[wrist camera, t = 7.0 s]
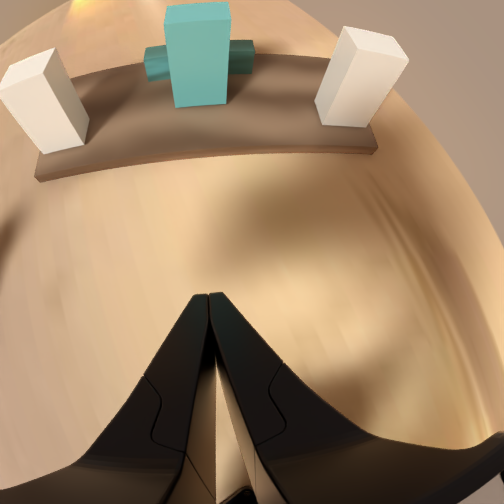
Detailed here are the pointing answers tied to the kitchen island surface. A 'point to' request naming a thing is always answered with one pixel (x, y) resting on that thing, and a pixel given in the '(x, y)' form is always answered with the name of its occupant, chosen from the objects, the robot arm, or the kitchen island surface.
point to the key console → (202, 115)
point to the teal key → (198, 52)
